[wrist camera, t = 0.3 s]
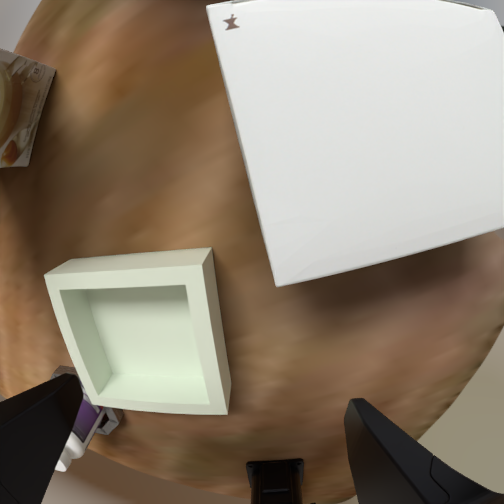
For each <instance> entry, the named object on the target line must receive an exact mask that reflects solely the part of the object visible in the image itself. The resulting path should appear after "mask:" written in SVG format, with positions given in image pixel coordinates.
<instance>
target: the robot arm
mask: <svg viewBox="0 0 504 504" xmlns="http://www.w3.org/2000/svg"><path fill="white" fill-rule="evenodd" d="M83 396H84V394H83V390H82V387H81V384H80V381H79V378H78V376H77V375H75V374H72V373H64V374H62V375H60V376H58V377H55V378H53V379H51V380H49V381H47V382H44V383H42V384H40V385H38V386H36V387H33V388H31V389H29V390H27V391H24V392H22V393H20V394H18V395H15V396H13V397H11V398H9V399H6V400H4V401H2V402H0V504H41V502H42V500H43V497H44V495H45V492H46V490H47V487H48V485H49V482H50V480H51V477H52V475H53V473H54V470H55V468H56V466H57V463H58V461H59V459H60V456H61V454H62V452H63V450H64V447H65V445H66V443H67V441H68V439H69V437H70V434H71V432H72V429H73V427H74V424H75V421H76V418H77V415H78V412H79V409H80V406H81V403H82V401H83ZM344 425H345V433H346V442H347V450H348V459H349V464H350V469H351V473H352V477H353V481H354V485H355V489H356V493H357V497H358V502H359V504H504V494H501V493H496V492H493V491H491V490H489V489H487V488H485V487H483V486H482V485H480V484H478V483H476V482H474V481H472V480H471V479H469V478H467V477H465V476H464V475H462V474H461V473H459V472H457V471H456V470H454V469H453V468H451V467H450V466H448V465H447V464H445V463H444V462H443V461H441V460H440V459H439V458H437V457H436V456H435V455H434V456H433V454H432V453H431V452H430V451H428V450H427V449H426V448H424V447H423V446H422V445H421V444H419V443H418V442H417V441H416V440H414V439H413V438H412V437H410V436H409V435H408V434H407V433H405V432H404V431H403V430H402V429H400V428H399V427H398V426H397V425H395V424H394V423H393V422H392V421H391V420H389V419H388V418H387V417H386V416H384V415H383V414H382V413H381V412H380V411H378V410H377V409H376V408H375V407H373V406H372V405H371V404H370V403H369V402H367V401H366V400H365V399H363V398H354V399H351V400H350V401H349V404H348V407H347V410H346V413H345V417H344ZM303 467H304V461H303V459H292V460H279V461H261V462H247V463H246V468H247V473H248V478H249V483H250V488H251V504H303V503H302V493H301V485H302V482H303ZM310 504H316V503H310Z"/></svg>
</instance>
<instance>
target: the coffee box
mask: <svg viewBox="0 0 504 504" xmlns="http://www.w3.org/2000/svg"><path fill="white" fill-rule="evenodd" d="M55 71H56V69H55V68H52V67H50V66H47V65H45V64H42V63H39V62H36V61H34V60H32V59H29V58H26V57H23V56H20V55H18V54H15V53H12V52H9V51H6V50H3V49H0V168H4V167H16V166H23V167H27V166H28V165H29V160H30V155H31V151H32V147H33V142H34V138H35V134H36V130H37V127H38V123H39V119H40V116H41V112H42V109H43V106H44V103H45V100H46V97H47V94H48V91H49V88H50V85H51V82H52V79H53V77H54V74H55Z"/></svg>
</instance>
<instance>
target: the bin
mask: <svg viewBox="0 0 504 504" xmlns="http://www.w3.org/2000/svg"><path fill="white" fill-rule="evenodd" d="M44 277H45V281H46V285H47V288H48V292H49V295H50V299H51V302H52V305H53V309H54V312H55V315H56V318H57V321H58V324H59V327H60V330H61V332H62V335H63V338H64V341H65V343H66V346H67V348H68V351H69V354H70V356H71V359H72V361H73V363H74V366H75V368H76V371H77V373H78V375H79V377H80V380H81V382H82V384H83V386H84V388H85V391H86V393H87V395H88V397H89V399H90V401H91V403H92V404H93V405H99V406H106V407H113V408H121V409H129V410H138V411H148V412H160V413H176V414H201V415H228V407H229V399H230V391H231V378H230V371H229V365H228V359H227V353H226V346H225V340H224V333H223V326H222V319H221V312H220V305H219V298H218V291H217V283H216V276H215V268H214V260H213V252H212V247H207V248H195V249H183V250H170V251H158V252H146V253H135V254H123V255H111V256H100V257H88V258H77V259H70V260H68V261H67V262H65V263H63V264H61V265H60V266H58V267H56V268H54V269H53V270H51V271H49V272H48V273H46V274H44Z"/></svg>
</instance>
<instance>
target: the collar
mask: <svg viewBox="0 0 504 504" xmlns="http://www.w3.org/2000/svg"><path fill="white" fill-rule="evenodd" d="M64 373H72V374H75V375H77V376H78V378H79V381H80V384H81V387H82V388H84V386H83V384H82V382H81V380H80V377H79V375H78V373H77V371H76V368H73V367H66V366H59V367H58V368H57V369H56V370H55V372H54V373H53V374H52V377H51V379H53V378H55V377H58V376H60V375H62V374H64ZM51 379H50V380H51ZM84 389H85V388H84ZM103 407H104V409H105V411H106V413H107V415H108V417H109V418H108V419H107V420H101V422H100V424H99V426H98V428H97V430H96V432H95V433H99V434H104V435H108V434H109V433H110V432H111V431H112V430H113V429H114V428H115V427H116V426H117V425H118V424H119V423H120V421H121V419H122V417H123V415H124V414H123V412H122V410H121V408H113V407H106V406H103Z"/></svg>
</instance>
